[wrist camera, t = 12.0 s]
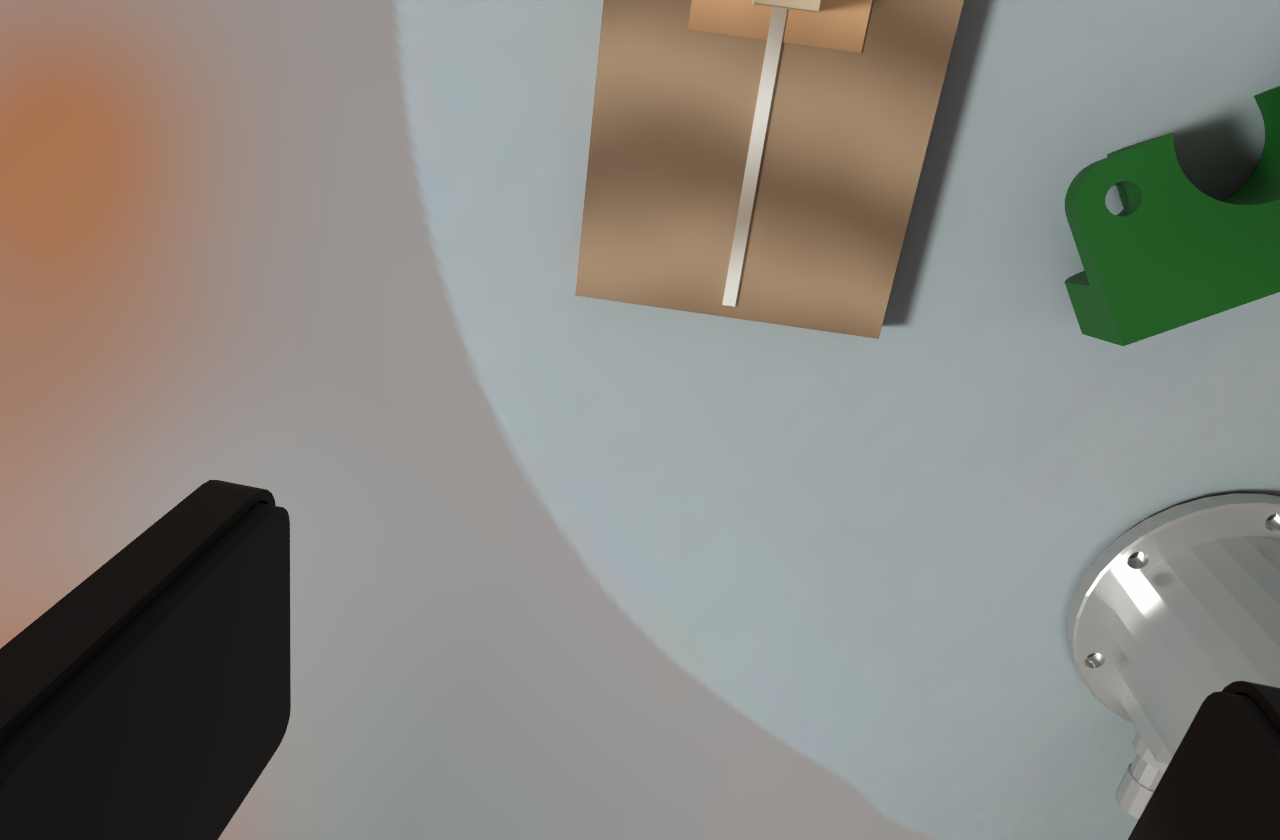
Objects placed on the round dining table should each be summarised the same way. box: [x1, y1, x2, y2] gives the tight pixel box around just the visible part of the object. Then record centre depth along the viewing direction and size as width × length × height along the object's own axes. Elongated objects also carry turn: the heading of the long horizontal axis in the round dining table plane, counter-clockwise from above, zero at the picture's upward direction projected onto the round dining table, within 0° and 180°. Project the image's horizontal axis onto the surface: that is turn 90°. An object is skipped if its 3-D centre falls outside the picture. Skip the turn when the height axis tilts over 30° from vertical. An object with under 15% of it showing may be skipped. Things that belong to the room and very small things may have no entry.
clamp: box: [1065, 86, 1280, 346], centre depth 30 cm, size 12×6×9 cm, turn 108°
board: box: [576, 0, 964, 339], centre depth 30 cm, size 22×12×2 cm, turn 173°
